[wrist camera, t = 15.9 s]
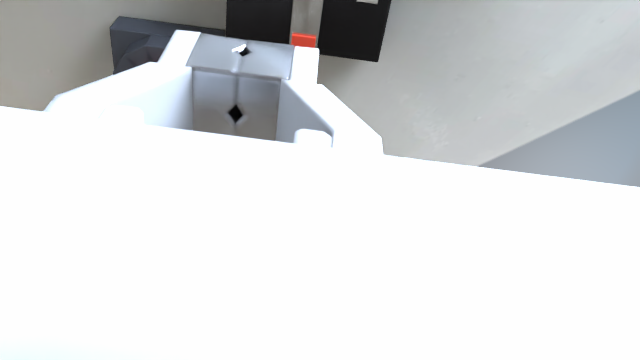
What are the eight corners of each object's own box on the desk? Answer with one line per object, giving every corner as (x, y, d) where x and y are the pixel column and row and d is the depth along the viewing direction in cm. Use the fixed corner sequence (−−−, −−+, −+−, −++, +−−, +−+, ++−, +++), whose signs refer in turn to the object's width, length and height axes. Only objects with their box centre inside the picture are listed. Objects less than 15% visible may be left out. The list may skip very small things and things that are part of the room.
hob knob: (300, -50, 36) (295, -27, 32) (328, -46, 36) (326, -22, 32) (292, 24, 39) (287, 52, 36) (318, 28, 39) (315, 56, 36)
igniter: (126, 96, 46) (111, 122, 43) (118, 15, 42) (100, 38, 39) (223, 108, 47) (214, 135, 44) (225, 30, 42) (215, 54, 39)
